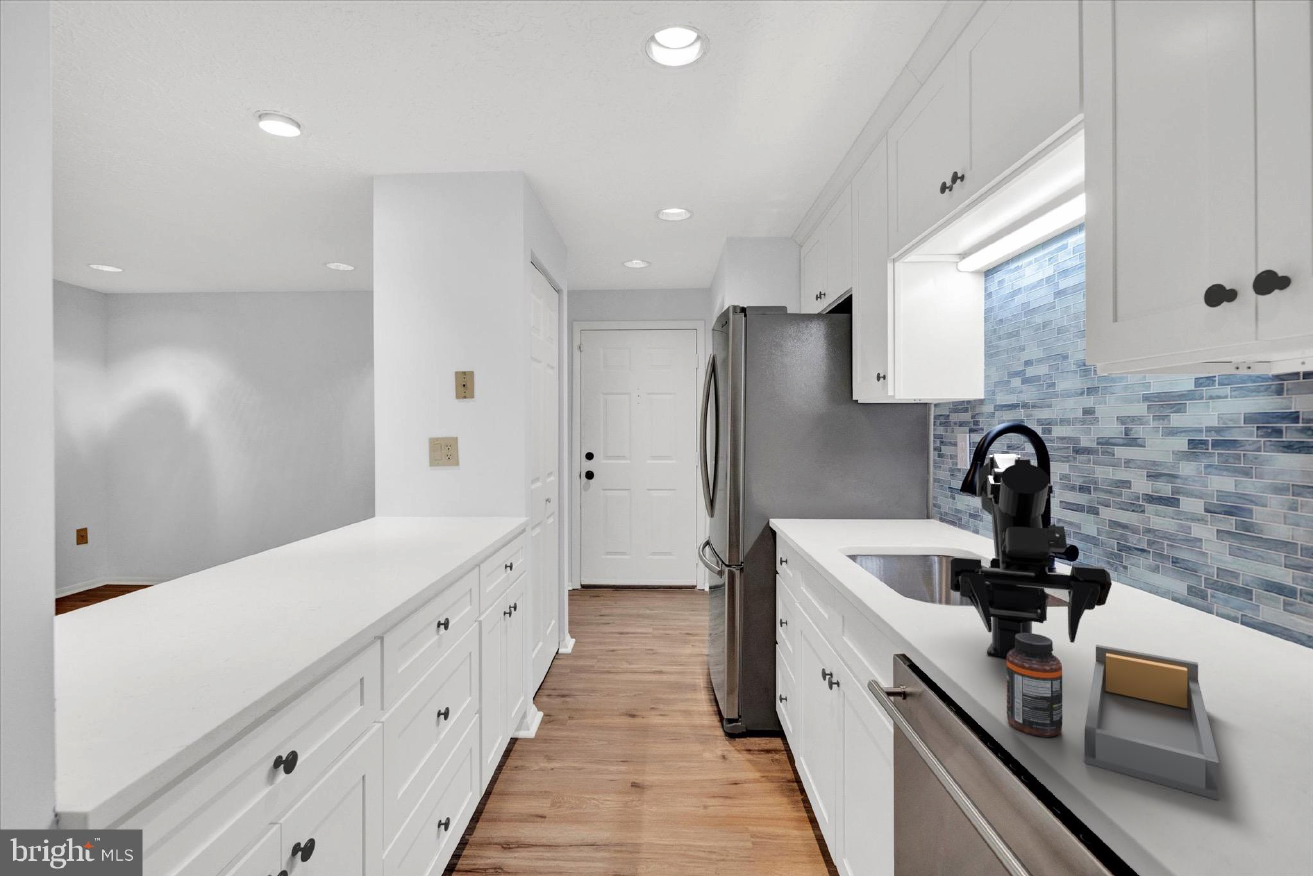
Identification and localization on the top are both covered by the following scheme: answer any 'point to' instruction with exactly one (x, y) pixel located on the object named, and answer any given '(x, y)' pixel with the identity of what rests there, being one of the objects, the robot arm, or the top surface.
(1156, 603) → the top surface
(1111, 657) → the pusher
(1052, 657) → the supplement bottle
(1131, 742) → the tray
